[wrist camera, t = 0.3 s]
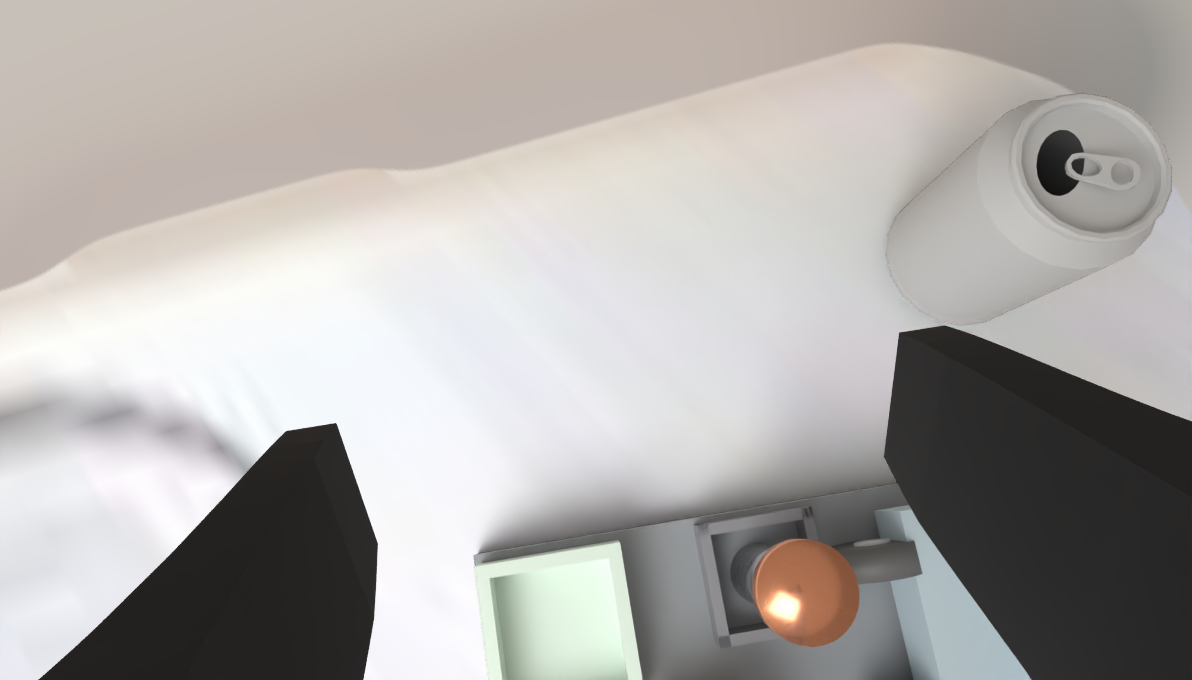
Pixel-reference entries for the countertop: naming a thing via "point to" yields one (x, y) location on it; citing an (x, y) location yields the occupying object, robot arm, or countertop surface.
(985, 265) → the can
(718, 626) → the ramp board
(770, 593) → the pin
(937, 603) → the trolley
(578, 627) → the tray
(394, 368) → the countertop surface
